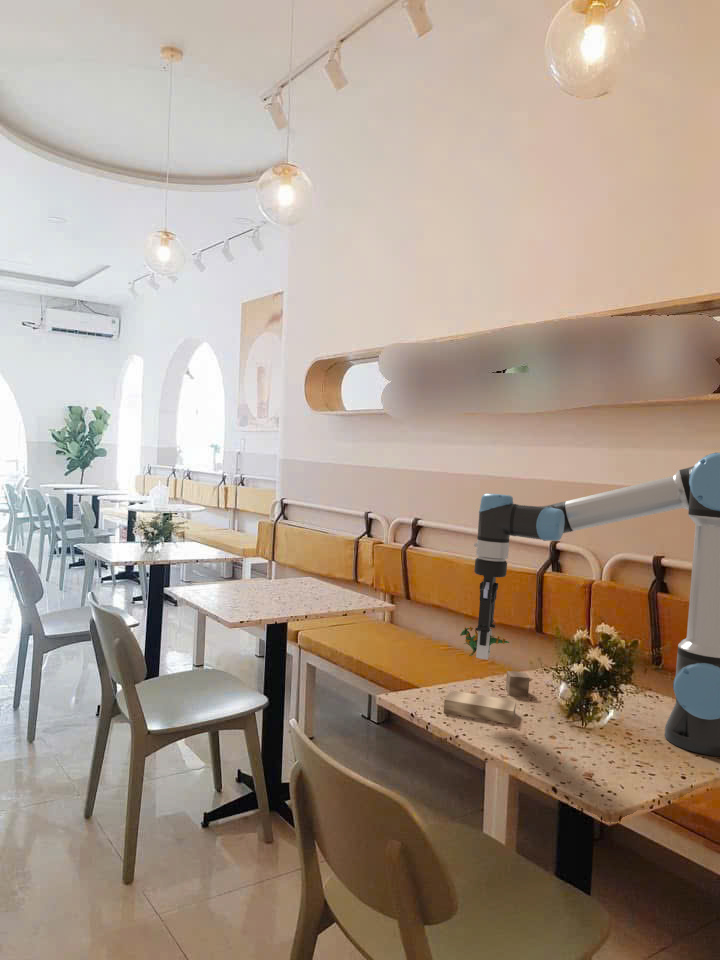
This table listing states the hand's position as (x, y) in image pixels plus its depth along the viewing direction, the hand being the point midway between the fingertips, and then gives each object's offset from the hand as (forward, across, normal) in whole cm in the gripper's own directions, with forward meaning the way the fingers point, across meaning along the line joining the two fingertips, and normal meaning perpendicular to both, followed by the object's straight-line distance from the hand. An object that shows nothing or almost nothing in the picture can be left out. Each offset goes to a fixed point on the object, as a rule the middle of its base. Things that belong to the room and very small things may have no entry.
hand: (482, 656), depth 169 cm
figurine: (+1, 0, 0) cm, 1 cm away
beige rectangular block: (+14, 0, 0) cm, 14 cm away
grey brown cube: (+14, -21, +7) cm, 26 cm away
